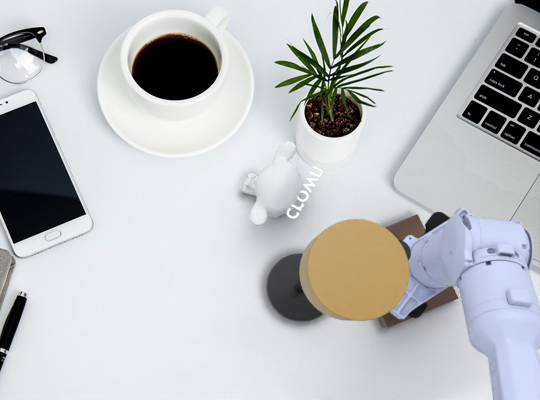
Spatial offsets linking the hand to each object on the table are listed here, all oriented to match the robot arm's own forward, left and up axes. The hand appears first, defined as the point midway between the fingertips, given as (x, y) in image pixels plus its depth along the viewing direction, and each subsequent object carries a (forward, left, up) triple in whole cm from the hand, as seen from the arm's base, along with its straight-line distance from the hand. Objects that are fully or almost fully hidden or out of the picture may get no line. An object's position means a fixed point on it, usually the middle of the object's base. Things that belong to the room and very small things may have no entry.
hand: (409, 268), depth 78 cm
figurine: (+16, +11, -6) cm, 20 cm away
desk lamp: (+3, +13, -6) cm, 14 cm away
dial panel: (0, 0, -6) cm, 6 cm away
